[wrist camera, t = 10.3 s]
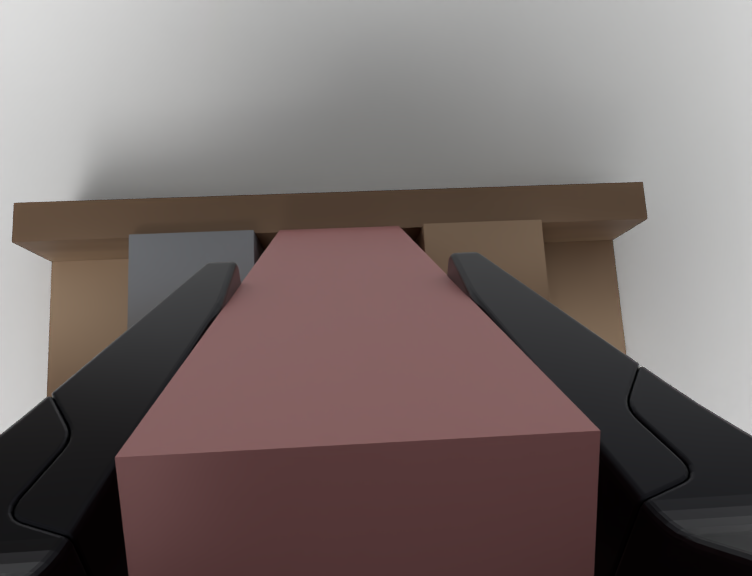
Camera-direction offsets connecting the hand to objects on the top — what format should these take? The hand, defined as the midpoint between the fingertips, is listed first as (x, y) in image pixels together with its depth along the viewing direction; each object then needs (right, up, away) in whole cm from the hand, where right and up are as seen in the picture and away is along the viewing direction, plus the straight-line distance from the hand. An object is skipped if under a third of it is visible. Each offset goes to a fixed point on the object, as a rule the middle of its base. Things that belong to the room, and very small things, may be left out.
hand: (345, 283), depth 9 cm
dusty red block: (0, -2, +7) cm, 7 cm away
